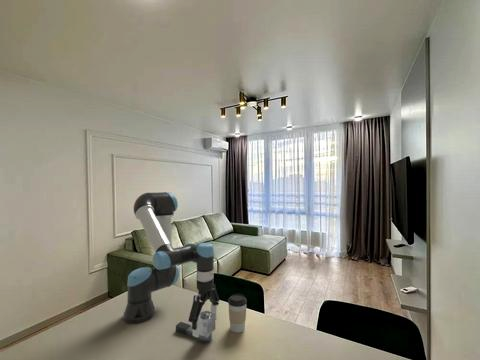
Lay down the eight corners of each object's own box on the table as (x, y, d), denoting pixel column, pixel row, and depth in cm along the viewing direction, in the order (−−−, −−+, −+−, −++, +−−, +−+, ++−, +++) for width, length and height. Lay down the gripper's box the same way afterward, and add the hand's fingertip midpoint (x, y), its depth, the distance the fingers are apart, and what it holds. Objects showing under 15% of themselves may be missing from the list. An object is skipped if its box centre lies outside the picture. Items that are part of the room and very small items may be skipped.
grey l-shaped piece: (214, 337, 102) (214, 318, 102) (206, 345, 96) (206, 325, 97) (182, 326, 110) (182, 308, 110) (173, 333, 105) (173, 314, 105)
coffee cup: (245, 335, 103) (244, 302, 103) (225, 333, 105) (225, 300, 105) (248, 323, 112) (248, 293, 112) (230, 321, 114) (230, 291, 114)
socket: (195, 333, 99) (195, 315, 99) (203, 325, 105) (203, 308, 105) (207, 337, 96) (207, 319, 96) (215, 329, 102) (215, 311, 102)
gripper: (194, 292, 89) (194, 347, 88) (226, 271, 111) (226, 315, 110) (179, 288, 92) (179, 341, 91) (213, 268, 114) (213, 311, 114)
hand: (205, 327), depth 101 cm, fingers open, 13 cm apart
